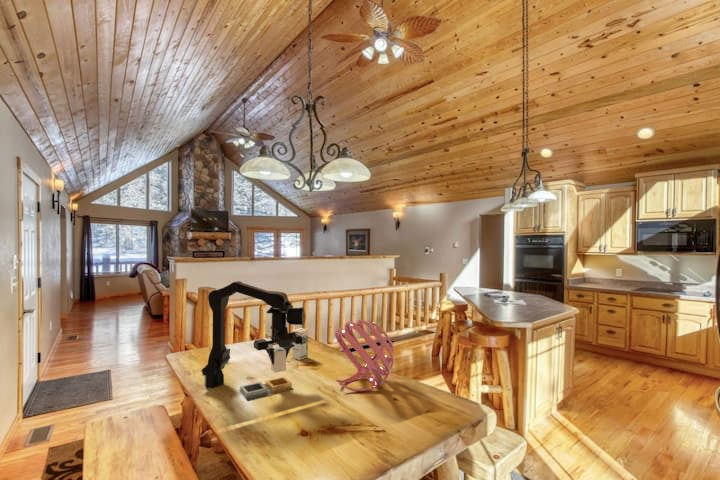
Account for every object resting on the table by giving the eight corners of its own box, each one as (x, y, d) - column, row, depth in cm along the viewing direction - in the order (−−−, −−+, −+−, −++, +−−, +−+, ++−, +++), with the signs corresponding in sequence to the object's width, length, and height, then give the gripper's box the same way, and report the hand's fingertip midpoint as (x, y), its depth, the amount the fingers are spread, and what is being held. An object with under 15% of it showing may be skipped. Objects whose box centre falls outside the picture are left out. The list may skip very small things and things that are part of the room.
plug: (275, 372, 135) (275, 351, 135) (271, 369, 139) (271, 348, 139) (285, 370, 137) (286, 349, 138) (281, 367, 141) (281, 347, 141)
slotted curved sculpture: (318, 350, 125) (373, 304, 135) (309, 348, 151) (356, 309, 161) (365, 413, 123) (417, 362, 133) (347, 400, 149) (392, 358, 159)
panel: (247, 403, 125) (247, 395, 125) (238, 392, 135) (238, 384, 135) (293, 392, 135) (294, 384, 135) (282, 382, 145) (282, 375, 145)
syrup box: (299, 360, 174) (299, 331, 174) (291, 358, 177) (291, 329, 178) (307, 357, 178) (308, 329, 179) (300, 355, 182) (300, 327, 182)
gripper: (262, 331, 127) (262, 374, 126) (308, 325, 137) (308, 364, 137) (253, 325, 136) (252, 365, 135) (297, 320, 146) (296, 357, 146)
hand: (278, 363), depth 138 cm, fingers closed on plug, 4 cm apart
